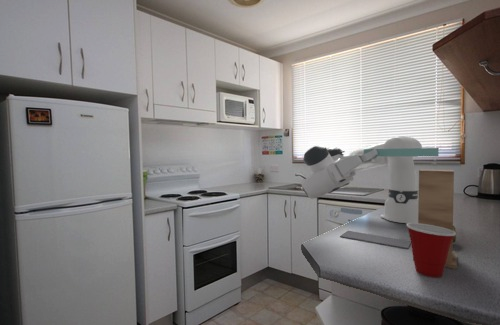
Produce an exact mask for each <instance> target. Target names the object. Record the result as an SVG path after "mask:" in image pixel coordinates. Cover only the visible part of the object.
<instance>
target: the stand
mask: <svg viewBox="0 0 500 325" xmlns="http://www.w3.org/2000/svg"><path fill="white" fill-rule="evenodd" d="M454 182H455V170H454V169H432V168H431V169H429V168H428V169H427V168H421V169H419V170H418V202H419V203H418V223H420V224H428V225H434V226H439V227H443V228H446V229H450V230H452V231H453V226H454V195H455V194H454V187H455V185H454V184H455V183H454ZM453 245H454V244H453V239H452V241H451V244H450V247H449V251H448V256H447V260H446V263H445V266H444V268H449V269H455V270H457V268H458V260H457V259H458V258H457V254H458V253H455V252H453V250H454V248H453ZM412 258H413V257H412ZM412 260H413V262H414V258H413V259H412Z"/></svg>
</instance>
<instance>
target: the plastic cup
mask: <svg viewBox="0 0 500 325" xmlns="http://www.w3.org/2000/svg"><path fill="white" fill-rule="evenodd" d="M405 224H406V228H407V229H408V234H409V239H410V241H411V244H410V246H411V251H412V258H414V261H413V262H414V268H415V271H416V272H417V273H418V274H419V275H423V276H426V277H430V278H440V277H442V276H443V274H444V270H445V267H444V266H445V263H446V260H447V256H448V251H449V247H450V244H451V241H452V239H453V237H454V235H456V236H457V232H455V231H456V230H455V231H452V230H450V229H446V228H443V227H439V226H434V225H428V224H420V223H405Z"/></svg>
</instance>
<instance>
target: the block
mask: <svg viewBox="0 0 500 325" xmlns="http://www.w3.org/2000/svg"><path fill="white" fill-rule="evenodd" d="M372 150H374V149H364V154H365V153H368V152H370V151H372ZM375 150H377V151H378V153H379V154H378V155H376V156H418V157H439V155H440V154H439V147H422V148H403V149H375Z"/></svg>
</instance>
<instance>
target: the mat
mask: <svg viewBox="0 0 500 325" xmlns="http://www.w3.org/2000/svg"><path fill="white" fill-rule="evenodd" d="M339 237H340V238H345V239H347V240H348V239H349V240H354V241H355V240H356V241H361V242H366V243H372V244H377V245H382V246H387V245H388V247H393V248H398V249H399V248H400V249H404V250H409V248H410V246H411V240H408V239H401V238H396V237H389V236H383V235H378V234H370V233H365V232H359V231H352V230H346V231H345V232H344V233H342V234H341V235H340V236H339Z"/></svg>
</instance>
